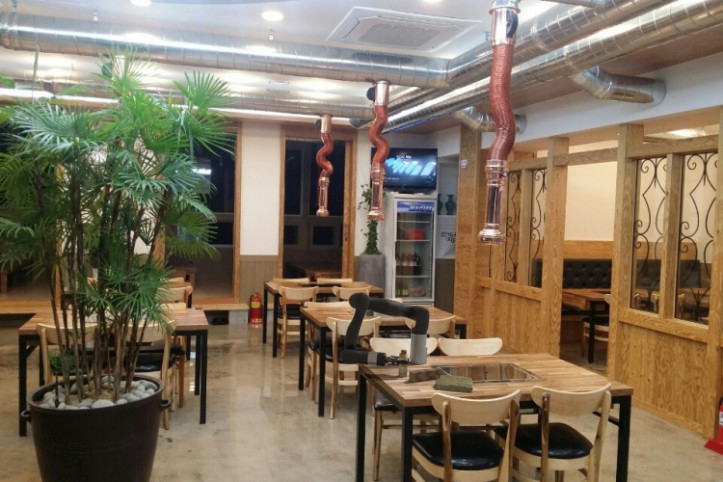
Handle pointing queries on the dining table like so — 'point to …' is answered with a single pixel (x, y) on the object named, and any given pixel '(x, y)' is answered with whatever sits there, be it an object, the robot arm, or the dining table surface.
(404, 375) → the pepper mill
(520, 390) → the dining table surface
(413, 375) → the rail
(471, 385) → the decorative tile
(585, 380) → the dining table surface
